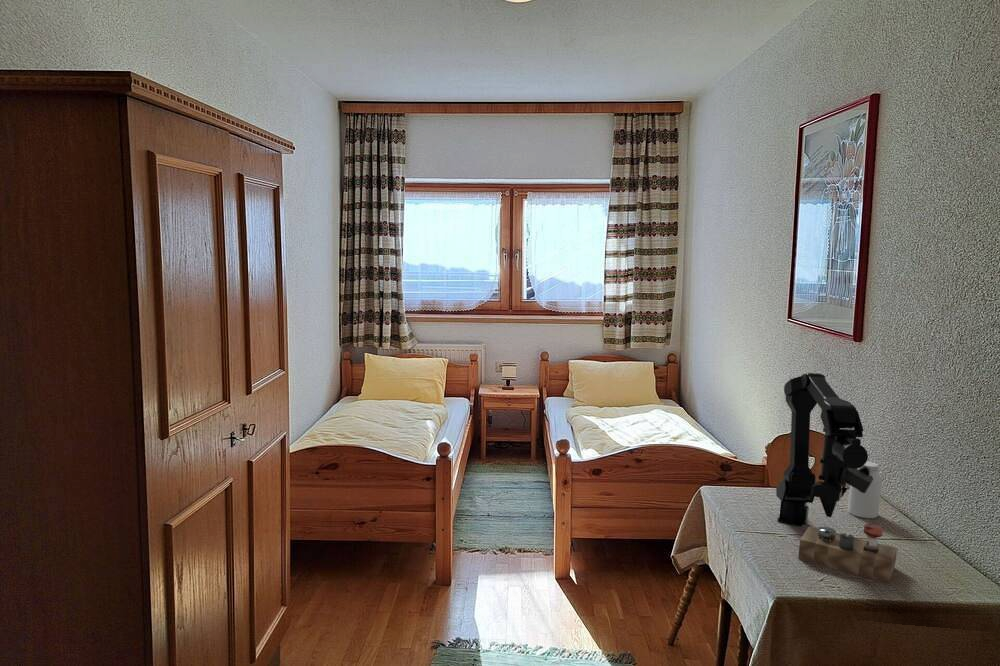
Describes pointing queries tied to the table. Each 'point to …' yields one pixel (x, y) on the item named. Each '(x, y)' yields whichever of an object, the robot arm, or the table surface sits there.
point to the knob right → (872, 536)
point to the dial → (846, 541)
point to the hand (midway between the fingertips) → (828, 516)
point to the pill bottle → (866, 495)
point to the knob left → (826, 533)
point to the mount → (848, 556)
